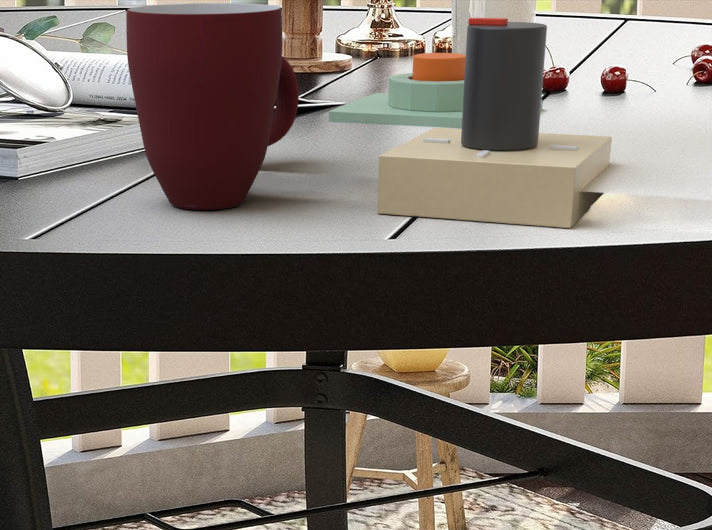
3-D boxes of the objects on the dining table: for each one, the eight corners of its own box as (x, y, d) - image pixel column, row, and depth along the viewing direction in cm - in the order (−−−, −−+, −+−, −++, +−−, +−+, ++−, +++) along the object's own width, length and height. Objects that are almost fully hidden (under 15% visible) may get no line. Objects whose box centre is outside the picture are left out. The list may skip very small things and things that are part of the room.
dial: (545, 140, 75) (555, 16, 72) (528, 152, 71) (538, 22, 69) (471, 137, 76) (478, 15, 74) (451, 148, 73) (458, 21, 71)
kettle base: (540, 132, 97) (545, 72, 96) (506, 155, 89) (510, 89, 87) (375, 124, 102) (377, 66, 100) (328, 144, 93) (329, 82, 92)
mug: (226, 177, 83) (225, -2, 79) (337, 193, 78) (342, 3, 74) (101, 206, 76) (92, 10, 72) (215, 225, 71) (213, 16, 67)
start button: (472, 80, 95) (474, 53, 94) (458, 86, 92) (459, 59, 91) (420, 78, 96) (422, 52, 95) (405, 85, 93) (406, 57, 92)
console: (606, 192, 77) (612, 133, 76) (570, 228, 69) (576, 163, 68) (431, 180, 81) (433, 124, 80) (376, 213, 73) (379, 151, 72)
